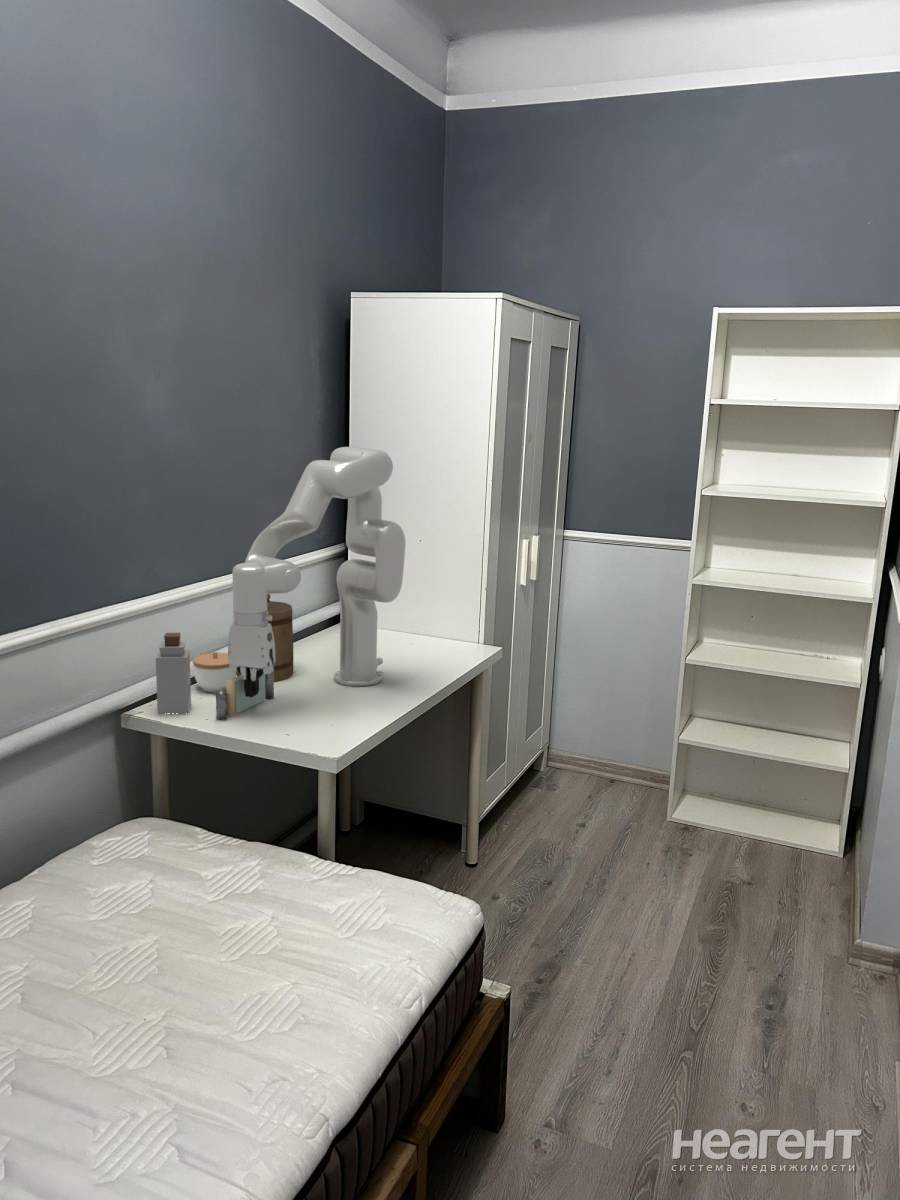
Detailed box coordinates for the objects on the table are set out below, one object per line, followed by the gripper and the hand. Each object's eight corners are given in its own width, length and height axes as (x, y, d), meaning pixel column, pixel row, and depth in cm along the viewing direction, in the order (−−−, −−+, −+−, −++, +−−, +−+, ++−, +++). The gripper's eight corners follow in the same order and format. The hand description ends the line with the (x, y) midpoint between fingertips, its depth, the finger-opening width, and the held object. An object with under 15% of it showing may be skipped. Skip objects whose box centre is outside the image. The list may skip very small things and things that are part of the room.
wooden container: (230, 668, 249) (229, 587, 244) (285, 663, 255) (285, 585, 250) (242, 685, 236) (241, 600, 231) (299, 679, 242) (299, 597, 237)
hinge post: (266, 694, 229) (265, 657, 227) (276, 696, 228) (276, 659, 226) (258, 698, 226) (257, 660, 224) (269, 700, 225) (268, 662, 223)
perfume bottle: (191, 704, 221) (189, 630, 217) (188, 714, 214) (186, 638, 210) (161, 705, 219) (158, 631, 215) (157, 714, 213) (154, 638, 209)
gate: (259, 698, 226) (259, 665, 224) (266, 699, 225) (266, 666, 223) (224, 714, 214) (224, 680, 212) (232, 716, 213) (231, 682, 211)
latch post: (229, 709, 218) (228, 682, 216) (241, 712, 216) (241, 685, 215) (209, 718, 212) (209, 690, 210) (222, 721, 210) (222, 693, 209)
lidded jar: (207, 679, 239) (207, 644, 237) (245, 684, 236) (245, 649, 234) (185, 692, 229) (184, 655, 227) (224, 697, 226) (223, 660, 224)
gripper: (288, 617, 212) (288, 694, 216) (229, 611, 216) (231, 686, 220) (272, 625, 205) (273, 704, 209) (212, 618, 209) (214, 696, 213)
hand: (251, 695), depth 215 cm, fingers closed
